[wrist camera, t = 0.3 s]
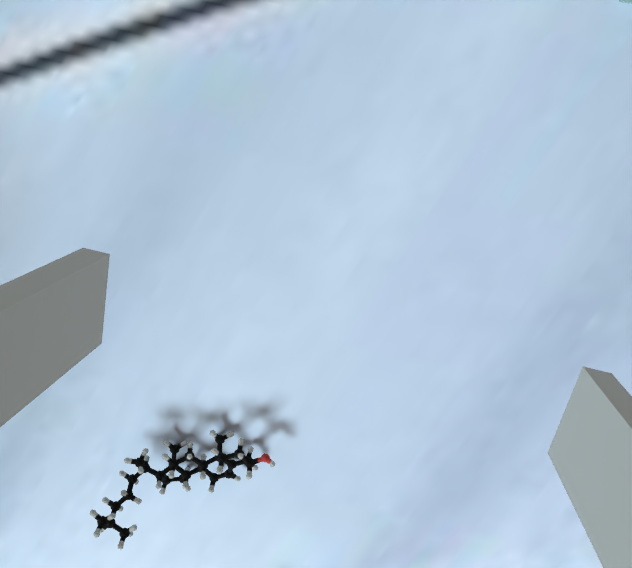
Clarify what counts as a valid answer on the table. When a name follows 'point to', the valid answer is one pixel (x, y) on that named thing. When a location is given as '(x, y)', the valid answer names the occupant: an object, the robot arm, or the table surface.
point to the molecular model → (183, 478)
